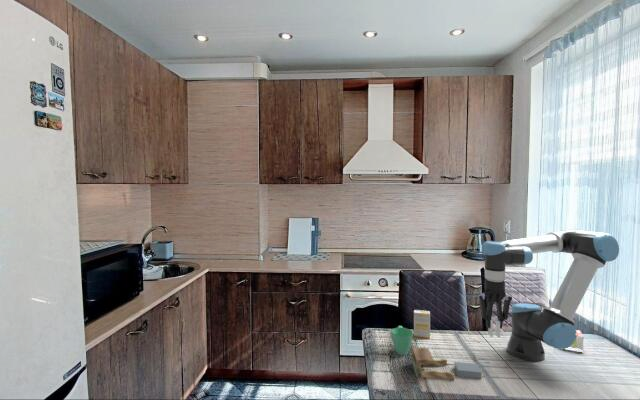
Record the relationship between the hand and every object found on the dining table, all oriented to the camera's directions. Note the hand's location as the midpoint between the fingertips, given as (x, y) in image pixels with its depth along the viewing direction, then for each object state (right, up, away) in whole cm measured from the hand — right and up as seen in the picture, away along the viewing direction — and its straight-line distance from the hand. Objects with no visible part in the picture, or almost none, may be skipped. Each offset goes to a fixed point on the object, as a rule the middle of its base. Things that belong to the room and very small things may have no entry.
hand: (494, 335), depth 137 cm
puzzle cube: (+50, -16, +24) cm, 58 cm away
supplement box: (-19, -16, +37) cm, 44 cm away
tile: (-10, -17, +2) cm, 20 cm away
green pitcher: (-33, -16, +22) cm, 43 cm away
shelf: (-25, -16, +3) cm, 30 cm away
